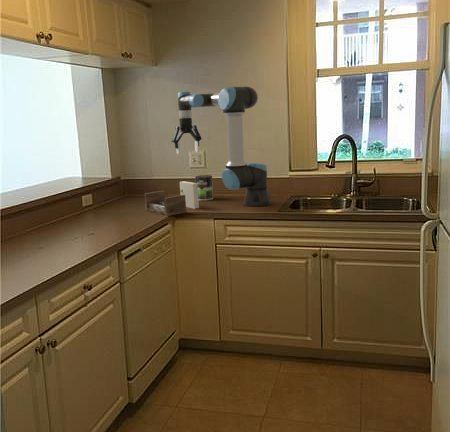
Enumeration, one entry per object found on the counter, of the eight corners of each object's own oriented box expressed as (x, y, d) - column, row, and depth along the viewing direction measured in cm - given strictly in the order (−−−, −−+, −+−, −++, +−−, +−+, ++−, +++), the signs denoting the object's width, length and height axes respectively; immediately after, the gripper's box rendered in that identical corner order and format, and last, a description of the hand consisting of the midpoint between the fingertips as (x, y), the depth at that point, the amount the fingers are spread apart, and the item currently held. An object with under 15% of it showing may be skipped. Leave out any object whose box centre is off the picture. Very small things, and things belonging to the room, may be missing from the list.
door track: (186, 212, 284) (185, 195, 282) (167, 216, 277) (165, 198, 275) (164, 206, 303) (162, 190, 301) (145, 210, 296) (144, 193, 294)
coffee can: (210, 200, 315) (209, 177, 312) (194, 200, 318) (192, 177, 315) (215, 197, 325) (214, 174, 322) (199, 197, 328) (198, 175, 325)
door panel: (198, 208, 294) (197, 183, 291) (194, 209, 292) (192, 184, 290) (185, 205, 305) (184, 181, 303) (180, 205, 304) (179, 181, 301)
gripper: (199, 116, 328) (201, 150, 333) (164, 118, 314) (167, 154, 319) (205, 116, 322) (207, 151, 327) (170, 118, 308) (173, 155, 313)
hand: (187, 152), depth 323 cm, fingers open, 13 cm apart
